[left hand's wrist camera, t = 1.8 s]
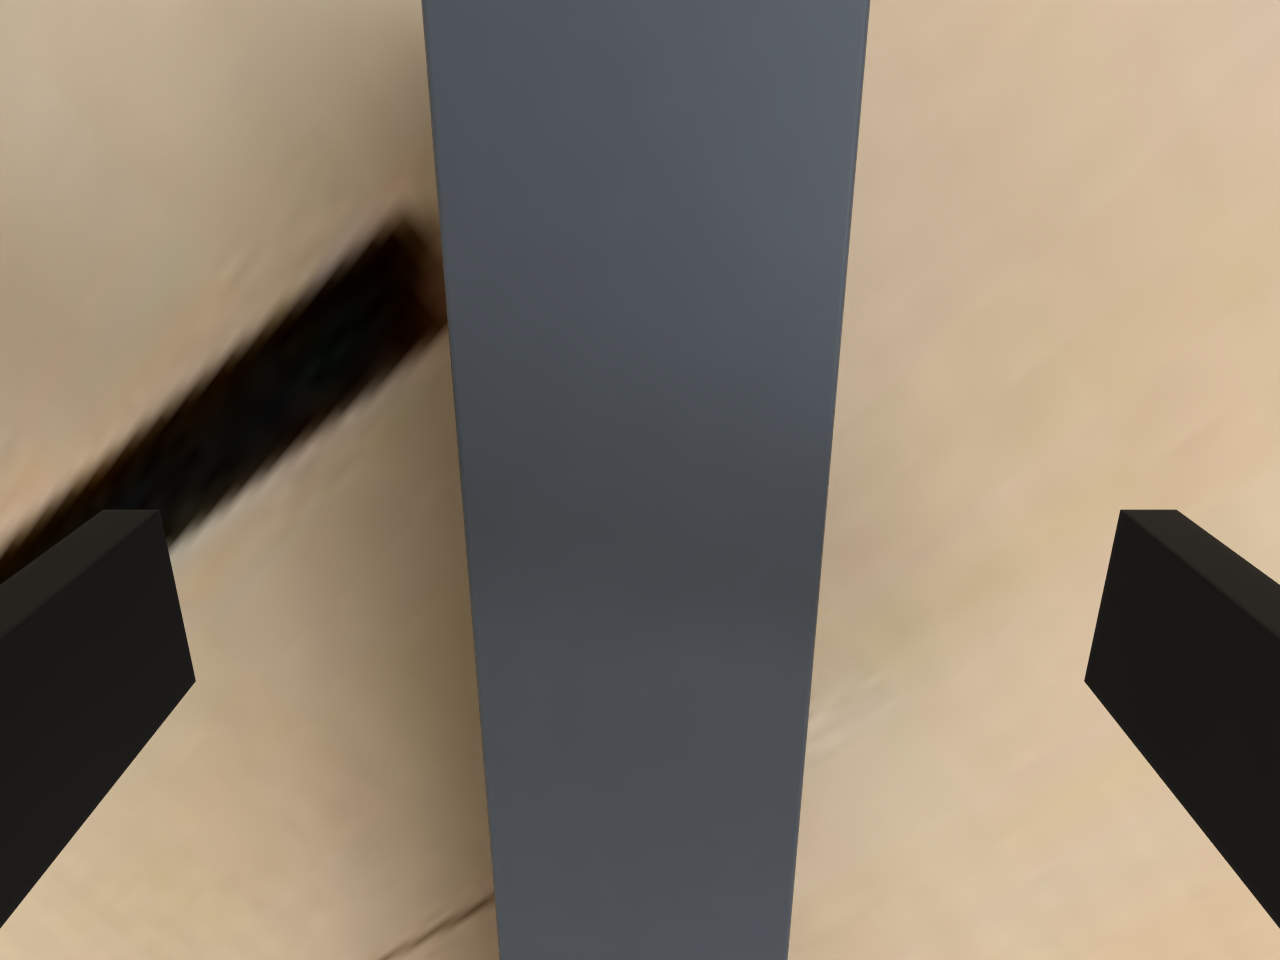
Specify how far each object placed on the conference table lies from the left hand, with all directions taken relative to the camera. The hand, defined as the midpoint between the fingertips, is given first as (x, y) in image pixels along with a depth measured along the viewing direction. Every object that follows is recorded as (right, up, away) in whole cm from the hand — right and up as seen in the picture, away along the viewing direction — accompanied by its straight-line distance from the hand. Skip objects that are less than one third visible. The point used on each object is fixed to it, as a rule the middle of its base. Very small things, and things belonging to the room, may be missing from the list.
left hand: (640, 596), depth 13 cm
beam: (0, -18, +17) cm, 25 cm away
